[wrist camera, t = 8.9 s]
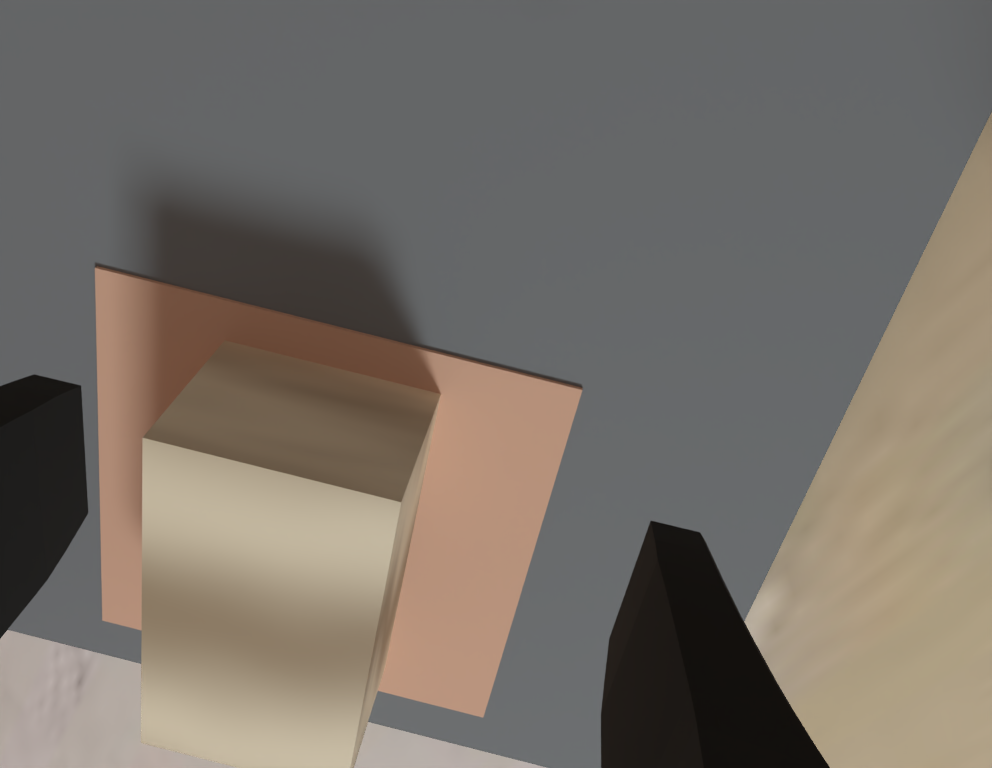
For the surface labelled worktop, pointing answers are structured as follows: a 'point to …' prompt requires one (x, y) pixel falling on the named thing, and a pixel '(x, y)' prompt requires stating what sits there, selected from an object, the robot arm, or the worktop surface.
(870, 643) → the worktop surface
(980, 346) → the worktop surface
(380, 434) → the card box
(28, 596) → the robot arm
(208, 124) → the mat
